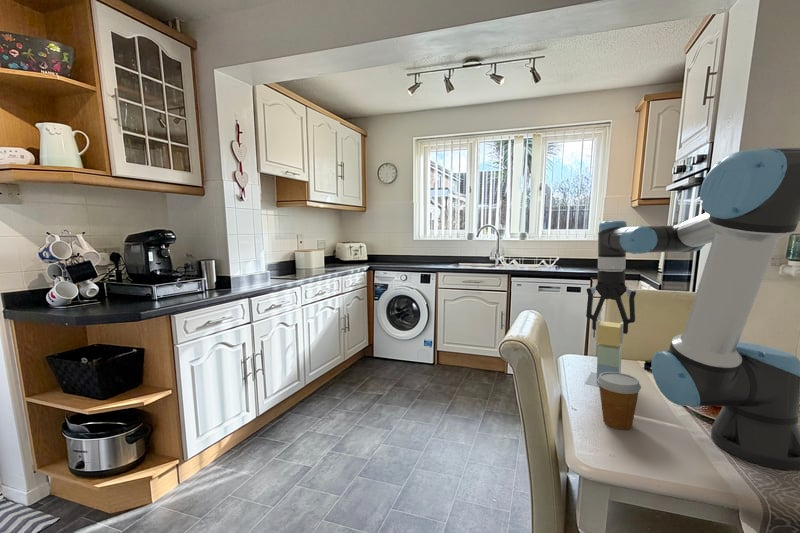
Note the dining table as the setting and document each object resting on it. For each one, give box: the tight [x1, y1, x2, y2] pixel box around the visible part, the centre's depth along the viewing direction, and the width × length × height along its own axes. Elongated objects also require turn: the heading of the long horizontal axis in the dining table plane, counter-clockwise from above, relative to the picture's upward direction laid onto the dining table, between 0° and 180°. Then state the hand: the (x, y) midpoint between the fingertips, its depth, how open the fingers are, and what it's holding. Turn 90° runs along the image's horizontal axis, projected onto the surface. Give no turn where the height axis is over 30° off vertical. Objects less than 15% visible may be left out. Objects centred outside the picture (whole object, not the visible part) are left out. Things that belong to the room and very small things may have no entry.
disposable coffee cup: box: [597, 372, 642, 431], centre depth 90 cm, size 10×10×12 cm
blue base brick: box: [596, 363, 622, 383], centre depth 113 cm, size 6×6×6 cm
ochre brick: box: [596, 320, 621, 347], centre depth 113 cm, size 6×6×6 cm
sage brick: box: [596, 344, 623, 368], centre depth 113 cm, size 6×6×6 cm
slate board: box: [584, 371, 599, 388], centre depth 114 cm, size 12×12×1 cm
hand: (609, 341), depth 113 cm, fingers closed on ochre brick, 6 cm apart
